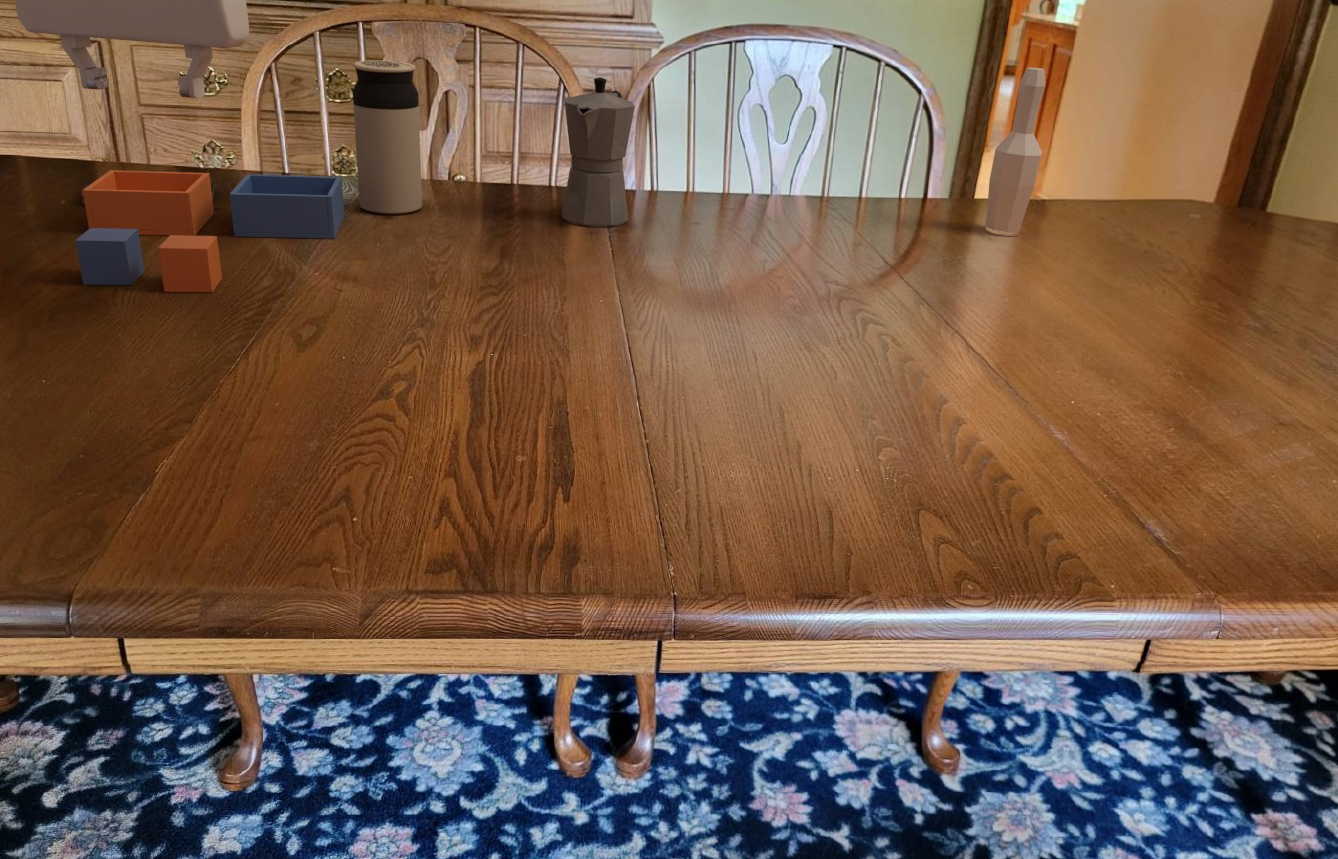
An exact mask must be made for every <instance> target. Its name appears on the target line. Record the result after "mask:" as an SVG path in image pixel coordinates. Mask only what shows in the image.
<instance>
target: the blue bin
mask: <svg viewBox="0 0 1338 859" xmlns="http://www.w3.org/2000/svg"><path fill="white" fill-rule="evenodd" d="M229 201H230V202H229V203H230V210H231V218H232V220H231V221H232V227H233V228H232V229H233V237H234V238H236V237H237V238H276V239H277V238H280V239H281V238H282V239H283V238H284V239H332V240H334V239H336V237H337V234H338V232H339V229H340V227H341V225H342V223H343V220H344V218H345V208H344V207H345V206H344V190H343V177H342V176H322V175H321V176H320V175H286V174H285V175H284V174H279V175H278V174H255V173H254V174H253V173H252V174H251V173H246V174H245V175H244V177H243V178H242V179H241V180H240V181H239V182H238V184H237V185H236V186H235V187H233V189H232V190H231V192H230V193H229Z"/></svg>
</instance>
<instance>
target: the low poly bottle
mask: <svg viewBox="0 0 1338 859" xmlns="http://www.w3.org/2000/svg"><path fill="white" fill-rule="evenodd" d="M1018 85H1019V86H1018V94H1017V103H1016V110H1015V113H1014V120H1013V124H1012V129H1011V130H1010V132H1009V133H1008V135H1006V136H1005V137H1004V138H1003V139H1002V141H1001V142H1000V143H999V144H998V145H997V146H996V147H995V150H994V156H993V160H992V165H991V170H990V174H989V175H990V176H989V182H988V194H987V195H988V196H987V206H986V220H985V228H986V227H988V228H990V229H992V230H998V231H1005V232H1019V233H1020V230H1021V227H1022V224H1023V220H1024V218H1025V215H1026V212H1027V209H1028V206H1029V203H1030V199H1031V197H1032V194H1033V191H1034V188H1035V185H1036V183H1037V177H1038V172H1039V169H1040V164H1041V158H1042V154H1043V151H1042V150H1041V147H1040V145H1039V142H1038V140H1037V138H1036V136H1035V134H1034V131H1035V126H1036V122H1037V117H1038V112H1039V108H1040V106H1041V101H1042V98H1043V95H1044V92H1045V88H1046V73H1045V68H1040V67H1029V66H1028V67H1026V69H1025V72H1024V73H1023V76H1022V78H1021V79H1020V81H1019V84H1018ZM985 232H987V233H989V234H991V235H994V236H1002V237H1019V234H1018V235H1002V234H995V233H992V232H990V231H988V230H986V229H985Z"/></svg>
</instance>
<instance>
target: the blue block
mask: <svg viewBox="0 0 1338 859" xmlns="http://www.w3.org/2000/svg"><path fill="white" fill-rule="evenodd" d="M75 246H76V253H77V257H78V264H79V269H80V274H81V281H82V284H83V286H86V285H87V286H90V285H91V286H93V285H94V286H133V285H134V284H135V282H136V281H137V280H139V278H140V277H141V276H142V275H143V274H144V273H145V266H144V260H143V259H144V258H143V254H142V246H141V241H140V235H139V233H138V229H109V228H90V229H89V228H88V229H87V230H86V231H85V232H83V233H82V234H81V235H80V236H79V237H77V238H76V239H75Z"/></svg>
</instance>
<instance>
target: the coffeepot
mask: <svg viewBox="0 0 1338 859" xmlns="http://www.w3.org/2000/svg"><path fill="white" fill-rule="evenodd" d="M593 82H594V89H595V91H594V92H588V93H584V94H579V95H575V96H569V97H565V98H563V99H564V109H565V118H566V119H565V120H566V129H567V138H568V147H569V154H570V155H571V163H570V166H571V167H570V168H569V172H568V177H567V182H566V188H565V194H564V199H563V205H562V210H561V214H562V219H563V220H564V221H565V222H567V223H570V224H572V225H576V226H582V227H591V228H613V227H618V226H622V225H624V224H626V223H628V222H629V211H628V203H627V194H626V186H625V185H626V184H625V176H624V170H623V158H625V157H626V155H627V149H628V145H629V138H630V134H631V128H632V123H633V118H634V113H635V108H636V105H635V104H634V103H633V101H631V100H628V99H626V98H623V97H622V93H621V92H620V91H618V90H613V91H611V92H605V89H606V85H607V79H606V78H604V77H596V78H593Z"/></svg>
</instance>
